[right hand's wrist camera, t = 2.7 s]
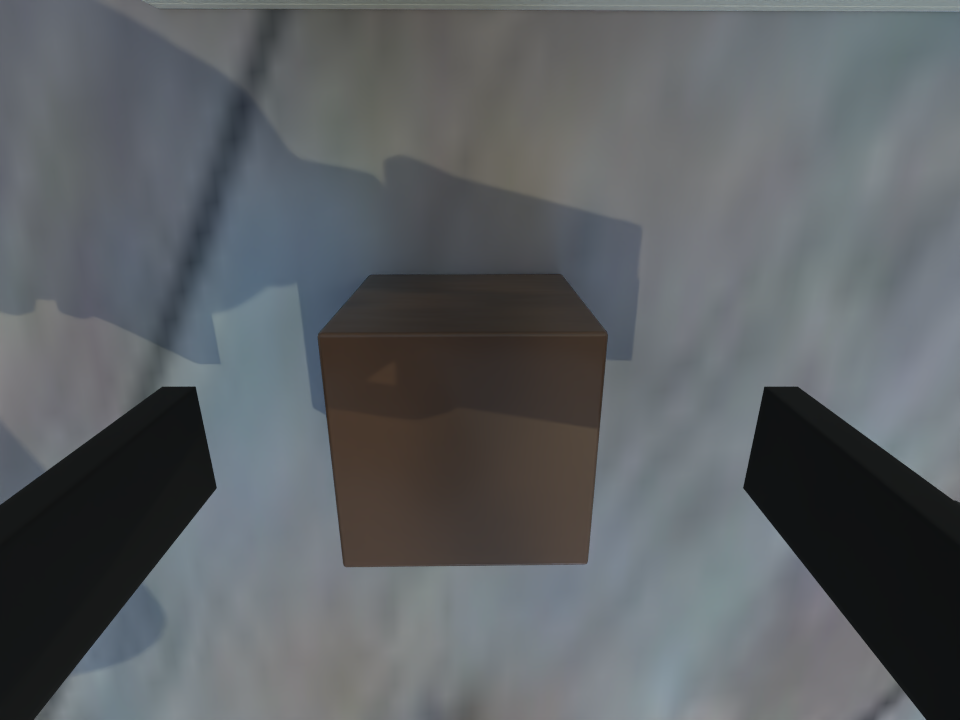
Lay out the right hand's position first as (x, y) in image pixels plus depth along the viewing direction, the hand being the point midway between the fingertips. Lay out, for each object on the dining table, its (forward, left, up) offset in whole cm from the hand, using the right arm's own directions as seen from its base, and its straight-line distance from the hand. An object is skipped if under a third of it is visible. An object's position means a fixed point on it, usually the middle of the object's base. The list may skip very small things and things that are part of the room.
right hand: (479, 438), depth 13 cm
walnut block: (0, 0, -5) cm, 5 cm away
